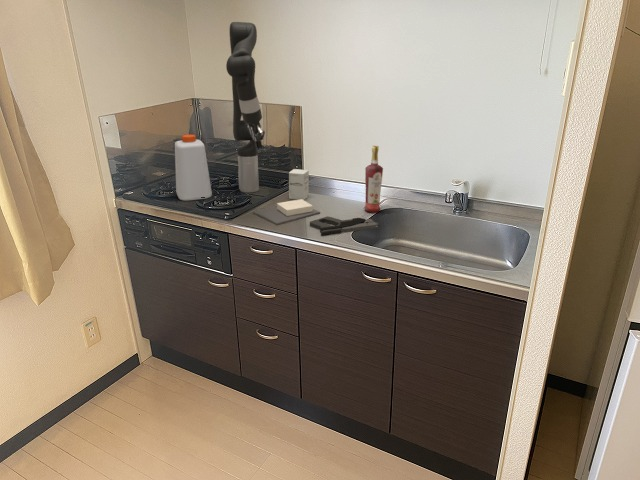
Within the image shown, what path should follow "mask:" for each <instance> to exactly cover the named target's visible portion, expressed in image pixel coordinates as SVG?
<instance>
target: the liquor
mask: <svg viewBox="0 0 640 480" xmlns="http://www.w3.org/2000/svg"><path fill="white" fill-rule="evenodd" d="M379 149H380V148H379V146H378V145H372V146H371V153H372V154H371V162H370V164H369V165H367V166H366V167H365V168H364V170H365V173H364V174H365V177H364V178H365V179H364V181H365V205H364V207H363V209H364V210H365V211H366V212H368V213H373V214H375V213H377V212H378V211H380V209H381V207H380V204H381V203H380V200H381V191H382V190H381V189H382V184H383V183H382V182H383V173H384V168H383V166H381V165H379Z"/></svg>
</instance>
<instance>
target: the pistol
mask: <svg viewBox="0 0 640 480" xmlns="http://www.w3.org/2000/svg"><path fill="white" fill-rule="evenodd" d="M379 226H380V224H379V222H378V221H376V222H375V221H374V220H373V219H372V218H368V219H367V218H361V217H354V218H350V219H342V220H341V219H339V218H336V217H332V216H324V217H320V218H318V219H314V220H310V221H309V227H310V228H314V229H316V230H318V231H319V233H320V237H326V236H333V235H340V234H342V233H343V234H344V233H351V232H357V231H365V230H373V229H378V228H379Z"/></svg>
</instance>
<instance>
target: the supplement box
mask: <svg viewBox="0 0 640 480" xmlns="http://www.w3.org/2000/svg"><path fill="white" fill-rule="evenodd" d="M309 171H310V170H309V169H300V168H299V169H297V168H293V169H292V170H290V171H289V172H288V198H289V200H300V199H303V200H304V201H306V199H307V198H308V197H309V185H310V183H309V179H310V177H309V176H310V175H309V174H310V173H309Z"/></svg>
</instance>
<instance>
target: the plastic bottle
mask: <svg viewBox="0 0 640 480" xmlns="http://www.w3.org/2000/svg"><path fill="white" fill-rule="evenodd" d="M196 138H197V136H196V134H184V135H182V136H181V140H177V141H175V142H174V161H175V163H174V165H175V190H176V191H175V192H176V195H177V197H178V199H179V200H181V201H185V202H189V201H197V200H205V199H209V198H211V197H212V195H213V192H212V187H211V180H210V172H209V166H208V160H207V154H206V146H205V144H204V143H203V141H201V140H200V139H196ZM201 197H205V198H201Z"/></svg>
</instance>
